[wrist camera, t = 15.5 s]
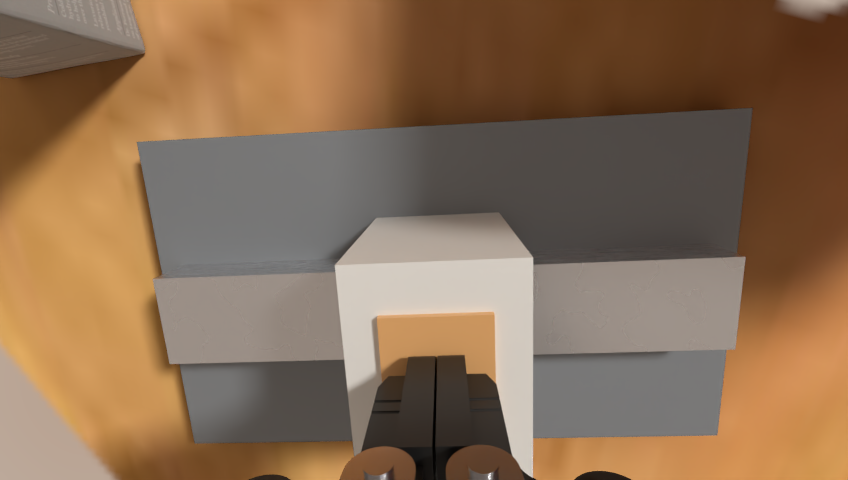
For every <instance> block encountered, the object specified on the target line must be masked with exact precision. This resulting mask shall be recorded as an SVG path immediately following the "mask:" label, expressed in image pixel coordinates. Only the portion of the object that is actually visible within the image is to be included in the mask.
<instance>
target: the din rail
mask: <svg viewBox="0 0 848 480" xmlns="http://www.w3.org/2000/svg"><path fill="white" fill-rule="evenodd" d="M529 253H530V254H531V255H532V256H533V355H540V354H578V353H616V352H655V351H693V350H731V349H735V347H736V338H737V330H738V321H739V312H740V303H741V294H742V285H743V277H744V268H745V259H746V257H745V256H742V255H740V254H737V253H735V252H732V251H729V250H727V249H724V248H722V247H719V246H716V245H714V244H697V245H671V246H646V247H620V248H594V249H569V250H543V251H529ZM340 259H341V258H339V259H313V260H288V261H262V262H237V263H211V264H186V265H181V266H179V267H177V268H175V269H173V270H171V271H169V272H166V273H164V274H162V275H160V276H158V277H156V278H154V279H153V282H154V288H155V293H156V298H157V303H158V308H159V313H160V318H161V323H162V328H163V333H164V338H165V343H166V348H167V353H168V358H169V364H195V363H233V362H271V361H310V360H344V351H343V342H342V332H341V322H340V312H339V302H338V293H337V283H336V273H335V264H336V263H337V262H338V261H339V260H340Z"/></svg>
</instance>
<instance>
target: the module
mask: <svg viewBox="0 0 848 480" xmlns="http://www.w3.org/2000/svg"><path fill="white" fill-rule="evenodd" d="M335 273H336V283H337V293H338V302H339V312H340V322H341V332H342V342H343V351H344V361H345V371H346V381H347V391H348V400H349V410H350V420H351V430H352V440H353V449H354V456H356V455H357V454H359V453H361V450H362V446H363V442H364V438H365V434H366V430H367V427H368V423H369V419H370V415H371V413H372V412H371V411H372V407H373V404H374V400H375V396H376V392H377V388H378V387H379V386H380V385H381V383H382V382H383V381H384V380H385V379H386V378H387V377H388V376H405V374H406V367H407V361H408V357H410V356H436V371H437V358H438V356H442V355H465V363H466V372H467V374H484V373H486V374H487V375H488V376H489V377H490V378H491V379H492V380H493V381H494V382H495V383H496V384H497V389H498V393H499V399H500V402H501V407H502V411H503V416H504V421H505V425H506V430H507V434H508V439H509V443H510V448H511V453H512V456H513V457H514V458H515V459H516V461H517V462H518V464H519V466H520V468H521V469H522V470H523V471H524V472H525V473H526V474H528V475H529V476H531V477H532V478H533V256H532V255H531V254H530V253H529V251H528V250H527V249H526V247H525V246H524V245H523V243H522V242H521V241H520V239H519V238H518V237H517V235H516V234H515V233H514V232H513V230H512V229H511V228H510V226H509V225H508V224H507V222H506V221H505V220H504V218H503V217H502V216H501V214H500V213H499V212H495V213H473V214H451V215H429V216H407V217H384V218H376V219H375V220H374V221H373V222H372V223H371V224H370V226H369V227H368V228H367V229H366V230H365V231H364V232H363V234H362V235H361V236H360V237H359V238H358V239H357V240H356V242H355V243H354V244H353V245H352V246H351V247H350V248H349V250H348V251H347V252H346V253H345V254H344V255H343V256H342V258H341V259H340V260H339V261H338V262H337V263H336V264H335Z"/></svg>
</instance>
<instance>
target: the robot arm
mask: <svg viewBox="0 0 848 480" xmlns="http://www.w3.org/2000/svg"><path fill="white" fill-rule="evenodd" d="M371 412H372V413H371V415H370V419H369V423H368V427H367V430H366V434H365V438H364V442H363V446H362V450H361V453H359V454H357V455H356V456H354V457H353V458H352V459H351V460H350V461H349V462H348V463H347V464H346V466H345V468H344V470H343V472H342V474H341V477H340V479H339V480H536V479H534V478H532V477H531V476H529V475H528V474H526V473H525V472H524V471H523V470H522V469H521V468H520V466H519V464H518V462H517V461H516V459H515V458H514V457H513V456H512V453H511V448H510V443H509V439H508V434H507V430H506V425H505V421H504V416H503V411H502V407H501V402H500V399H499V393H498V389H497V384H496V383H495V382H494V381H493V380H492V379H491V378H490V377H489V376H488V375H487V374H486V373H484V374H467V372H466V363H465V355H442V356H438V358H437V371H436V356H410V357H408V361H407V367H406V374H405V376H388V377H387V378H386V379H385V380H384V381H383V382H382V383H381V385H380V386H379V387H378V388H377V392H376V396H375V400H374V404H373V407H372V411H371ZM249 480H290V479H288V478H287V477H284V476H281V475H263V476H258V477H255V478H252V479H249ZM575 480H631V479H629V478H627V477H624V476H622V475H619V474H616V473H612V472H606V471H592V472H587V473H584V474H582V475H580V476H578V477H577V478H576V479H575Z"/></svg>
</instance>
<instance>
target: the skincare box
mask: <svg viewBox="0 0 848 480" xmlns="http://www.w3.org/2000/svg"><path fill="white" fill-rule="evenodd" d="M143 53H145V48H144V44H143V41H142V37H141V34H140V31H139V28H138V25H137V21H136V18H135V15H134V12H133V9H132V6H131V2H130V0H0V77H6V78H16V77H22V76H28V75H33V74H38V73H43V72H48V71H53V70H58V69H63V68H68V67H74V66H79V65H85V64H91V63H97V62H102V61H108V60H113V59H119V58H124V57H129V56H135V55H139V54H143Z"/></svg>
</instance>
